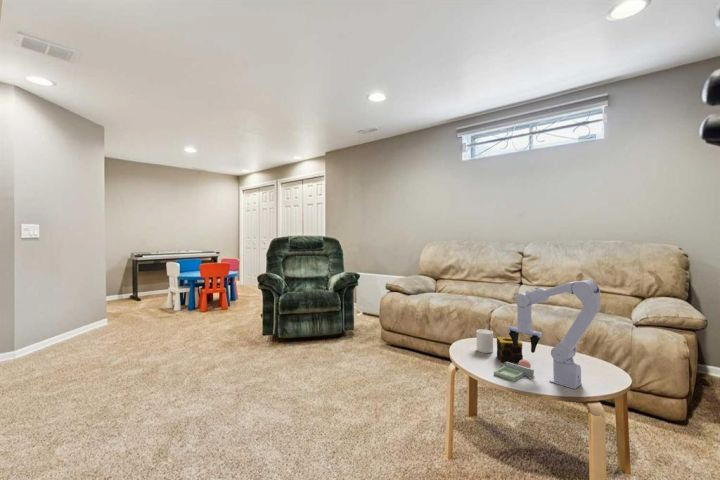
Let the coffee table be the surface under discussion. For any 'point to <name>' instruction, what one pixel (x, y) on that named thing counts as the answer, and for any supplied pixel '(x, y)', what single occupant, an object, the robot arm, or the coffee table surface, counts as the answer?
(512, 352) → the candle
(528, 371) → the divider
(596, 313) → the robot arm
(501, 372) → the tray
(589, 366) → the coffee table surface
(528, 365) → the ball
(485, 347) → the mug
